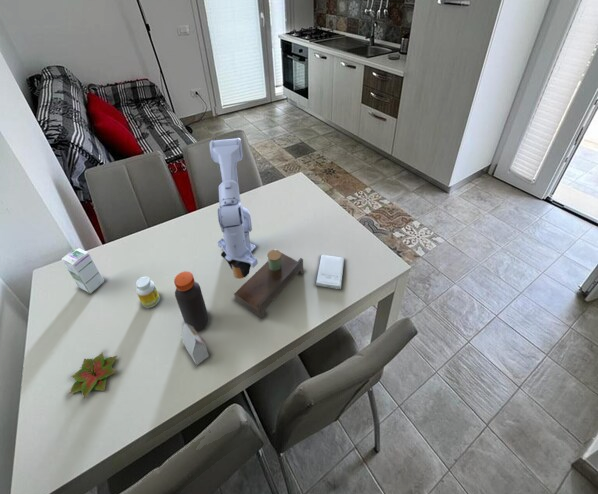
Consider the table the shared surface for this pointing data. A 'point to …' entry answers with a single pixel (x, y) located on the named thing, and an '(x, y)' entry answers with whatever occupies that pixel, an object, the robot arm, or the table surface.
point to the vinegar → (191, 301)
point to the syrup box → (83, 270)
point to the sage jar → (274, 260)
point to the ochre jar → (236, 269)
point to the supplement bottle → (147, 292)
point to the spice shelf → (267, 285)
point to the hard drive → (330, 272)
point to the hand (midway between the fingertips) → (240, 270)
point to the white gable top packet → (194, 343)
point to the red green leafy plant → (93, 374)
